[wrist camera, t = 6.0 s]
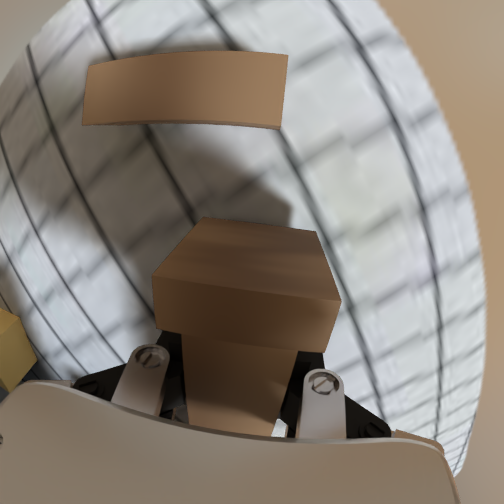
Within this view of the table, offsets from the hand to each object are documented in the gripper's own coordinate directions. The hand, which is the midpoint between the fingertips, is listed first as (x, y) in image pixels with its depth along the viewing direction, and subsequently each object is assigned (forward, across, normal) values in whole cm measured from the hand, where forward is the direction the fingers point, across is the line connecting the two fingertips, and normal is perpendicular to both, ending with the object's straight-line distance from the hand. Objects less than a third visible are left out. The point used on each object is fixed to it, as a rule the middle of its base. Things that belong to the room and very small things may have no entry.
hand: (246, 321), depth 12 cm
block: (+2, +21, +9) cm, 23 cm away
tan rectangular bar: (+2, +3, -9) cm, 10 cm away
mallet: (+1, +4, +6) cm, 7 cm away
